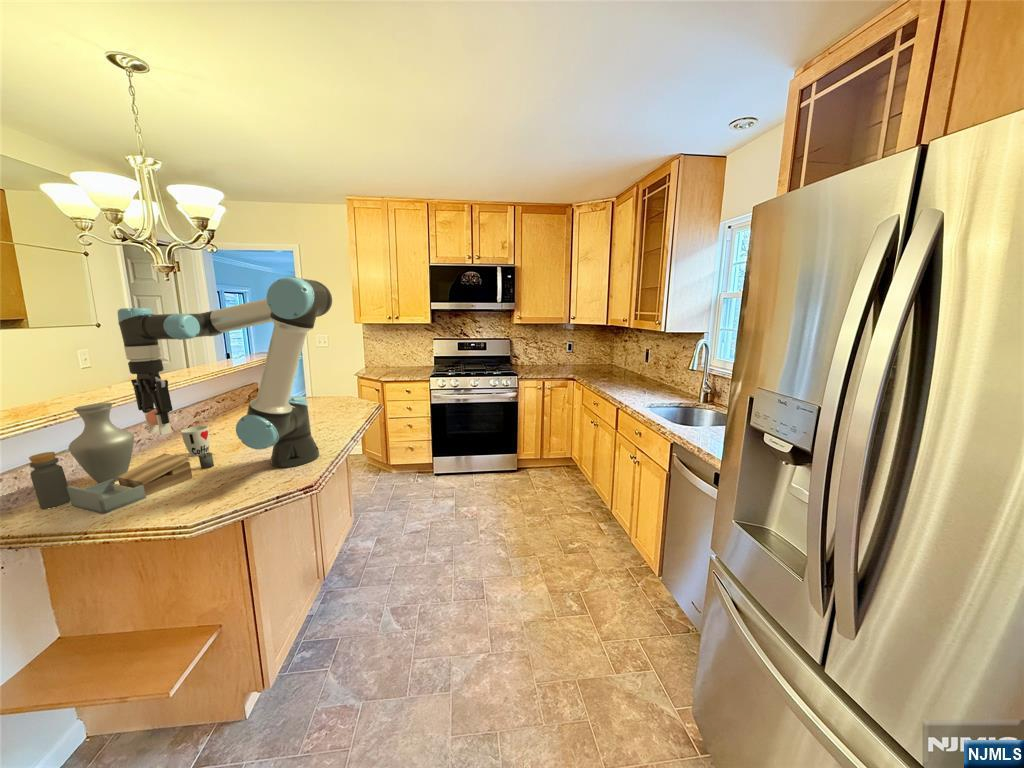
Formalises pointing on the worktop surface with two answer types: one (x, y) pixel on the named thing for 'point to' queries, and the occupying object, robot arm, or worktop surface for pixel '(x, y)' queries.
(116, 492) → the bin
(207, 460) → the tee
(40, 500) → the bottle
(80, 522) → the worktop surface
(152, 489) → the ramp
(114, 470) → the vase
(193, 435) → the cup
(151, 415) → the ball
